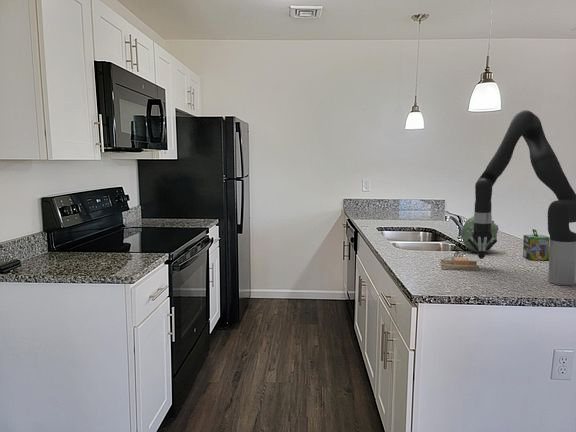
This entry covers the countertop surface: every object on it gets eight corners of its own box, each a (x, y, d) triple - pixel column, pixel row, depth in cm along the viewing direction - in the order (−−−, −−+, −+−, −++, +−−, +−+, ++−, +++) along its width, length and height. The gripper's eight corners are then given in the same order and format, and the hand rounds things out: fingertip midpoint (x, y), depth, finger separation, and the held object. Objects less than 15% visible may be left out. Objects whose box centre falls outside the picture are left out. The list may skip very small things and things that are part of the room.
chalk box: (549, 260, 201) (550, 230, 200) (528, 260, 203) (530, 230, 202) (542, 256, 210) (543, 228, 209) (522, 256, 212) (523, 228, 210)
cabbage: (463, 248, 237) (463, 213, 235) (499, 251, 227) (500, 214, 224) (457, 253, 224) (457, 217, 222) (495, 256, 214) (496, 218, 211)
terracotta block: (469, 269, 192) (469, 260, 191) (455, 268, 193) (455, 260, 193) (467, 266, 197) (467, 257, 197) (453, 265, 199) (453, 257, 198)
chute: (478, 270, 187) (479, 266, 187) (441, 269, 192) (441, 264, 192) (476, 264, 198) (476, 260, 198) (440, 263, 204) (440, 259, 204)
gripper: (467, 222, 189) (466, 259, 191) (499, 223, 184) (498, 261, 187) (466, 220, 196) (465, 256, 198) (497, 220, 191) (496, 257, 194)
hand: (481, 258), depth 193 cm, fingers closed
